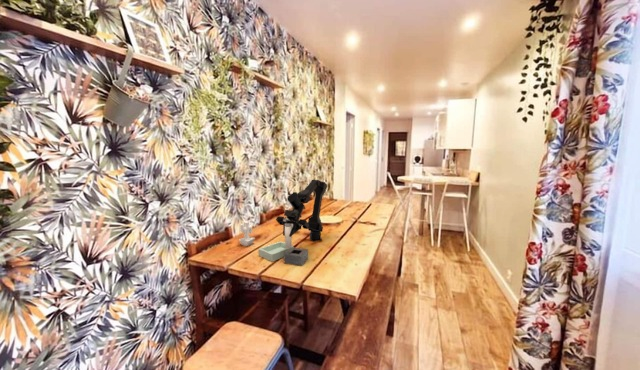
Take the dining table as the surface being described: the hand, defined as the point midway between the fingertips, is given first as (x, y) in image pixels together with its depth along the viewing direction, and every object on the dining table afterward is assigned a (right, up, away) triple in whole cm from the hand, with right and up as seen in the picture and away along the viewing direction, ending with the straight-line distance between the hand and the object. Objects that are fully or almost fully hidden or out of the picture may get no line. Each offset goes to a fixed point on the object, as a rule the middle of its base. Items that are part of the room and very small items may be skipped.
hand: (286, 236), depth 139 cm
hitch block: (+5, -14, +1) cm, 15 cm away
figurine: (-28, -10, +24) cm, 38 cm away
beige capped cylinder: (+1, -6, +2) cm, 7 cm away
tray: (-7, -12, +9) cm, 17 cm away
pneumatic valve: (-2, -7, +49) cm, 50 cm away
